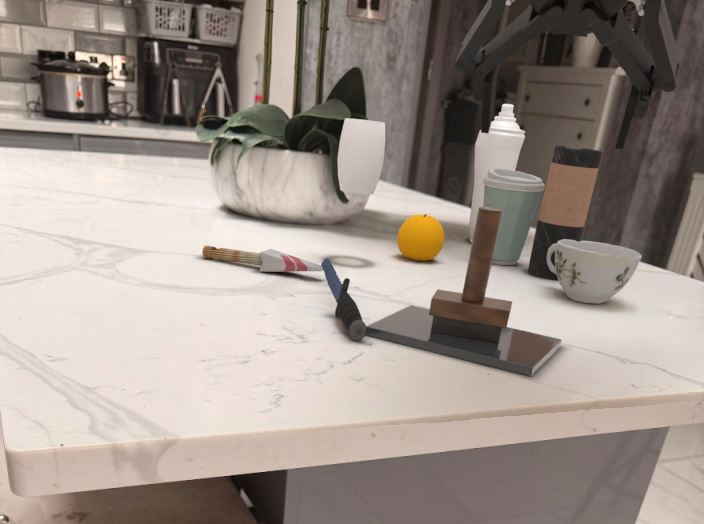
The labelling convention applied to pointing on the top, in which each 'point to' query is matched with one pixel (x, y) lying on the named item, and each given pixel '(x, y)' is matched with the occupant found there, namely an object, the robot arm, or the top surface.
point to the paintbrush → (262, 259)
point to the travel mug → (563, 204)
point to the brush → (474, 290)
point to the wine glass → (360, 158)
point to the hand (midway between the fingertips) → (553, 130)
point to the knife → (344, 302)
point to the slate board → (467, 342)
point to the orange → (420, 237)
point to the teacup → (592, 269)
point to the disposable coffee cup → (512, 210)
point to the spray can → (495, 155)
